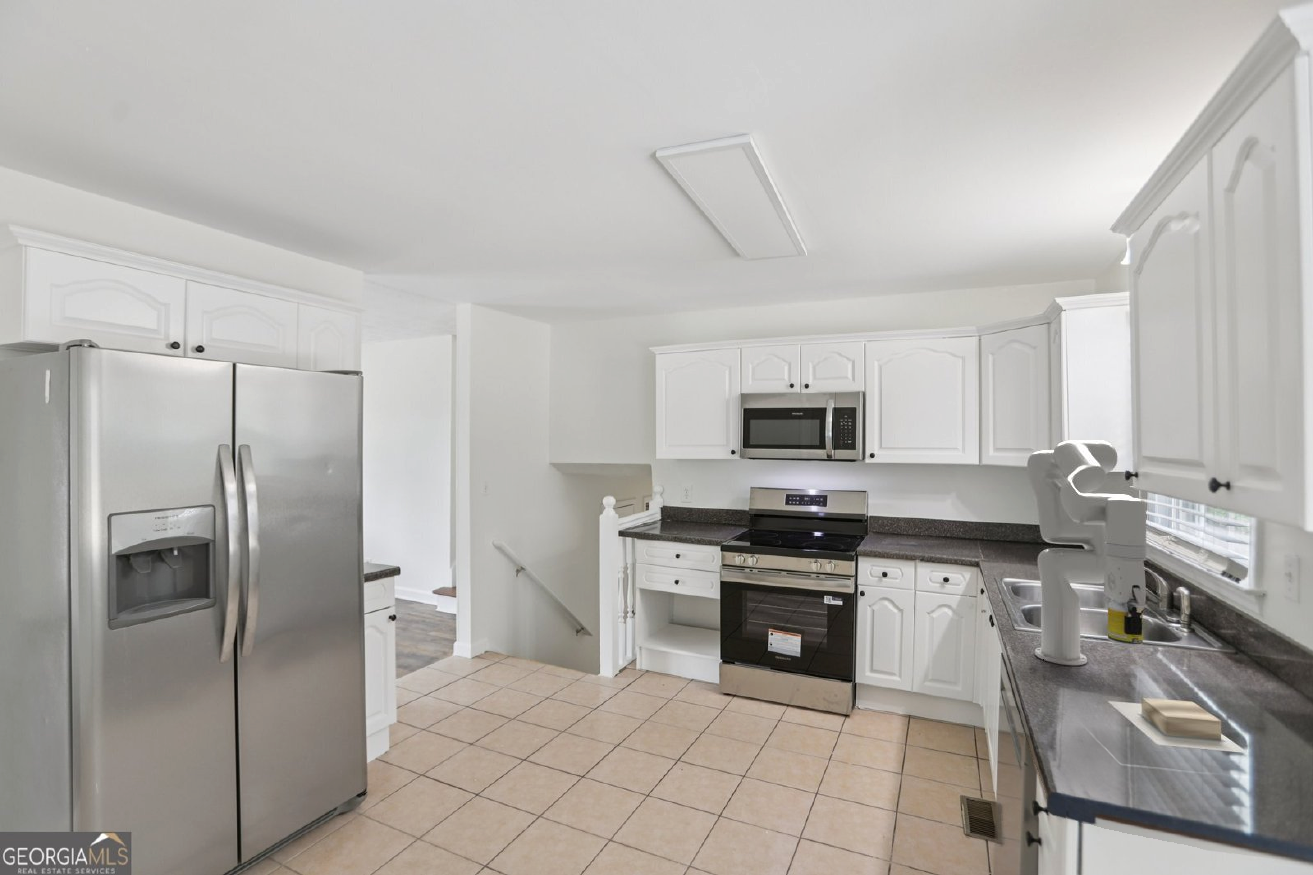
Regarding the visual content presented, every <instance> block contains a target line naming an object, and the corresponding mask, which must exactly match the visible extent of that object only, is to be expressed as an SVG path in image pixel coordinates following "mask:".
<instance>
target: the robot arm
mask: <svg viewBox="0 0 1313 875" xmlns="http://www.w3.org/2000/svg"><path fill="white" fill-rule="evenodd" d="M1117 464H1118V453H1117V450H1116V449H1115V447H1114V446H1113V445H1112V444H1111V443H1109V442H1108V441H1105V440H1067V441H1062V442H1060V443H1059V444H1057V445H1056V446H1055V448H1053V449H1051V450H1050V449H1049V450H1048V449H1047V450H1040V451H1036V452H1034V453H1032V454H1030V456H1028V459H1027V465H1026V471H1027V476H1028V480H1029V483H1030V485H1031V488H1032V489H1033V491H1034V494H1035V498H1036V507H1037V515H1038V522H1039V531H1040V532H1039V533H1040V536H1041V538H1042V539H1043V540H1044V541H1045V542H1047V543H1050V544H1057V545H1058V544H1059V545H1080V546H1083V547H1084V549H1083V548H1067V547H1066V548H1063V547H1053V548H1052V547H1051V548H1046V549H1044V550H1042V551H1040V553H1039V554H1038V556H1037V568H1038V573H1039V578H1040V579H1039V580H1040V581H1039V582H1040V592H1041V595H1040V597H1041V598H1040V602H1041V605H1040V606H1041V609H1040V610H1041V614H1040V615H1041V619H1040V620H1041V624H1040V625H1041V626H1040V629H1041V636H1040V637H1041V639H1040V642H1041V644H1040V645H1041V646H1040V647H1037V648H1035V650H1034V654H1035V656H1036V657H1037V658H1039V659H1041V660H1043V659H1044V660H1043V661H1046V662H1049V663H1053V664H1058V665H1063V666H1065V665H1066V666H1082V665H1085V664H1087V663H1088V658H1087V656H1086V655H1085V654H1083V653H1082V652H1081V597H1080V595H1079V594H1078V593H1077V591H1076V590H1075V589H1074V588H1073V587H1072V585H1071V584H1073V583H1074V584H1076V583H1079V584H1103V593H1104V595H1105V596H1106V597H1108V598H1109V603H1110V602H1111V601H1114V600H1115V601H1117V602H1118V603H1121V604H1123V603H1124V605H1125V610H1126V615H1127V616H1124V632H1125V633H1126V634H1130V635H1142V617H1143V618H1144V610H1145V607H1146V598H1147V597H1146V596H1147V591H1146V590H1147V588H1146V585H1147V584H1146V573H1145V572H1146V571H1145V565H1144V564H1145V563H1144V561H1146V560H1147V505H1146V502H1145V501H1144V500H1143V499H1140V498H1137V497H1136V498H1135V497H1132V496H1131V495H1129V494H1123V493H1122V494H1120V493H1119V494H1118V493H1117V494H1115V493H1113V494H1112V493H1111V494H1110V493H1092V492H1094V491H1097V490H1099V489H1100V488H1101V487H1102V486H1103V485H1104V484H1105V483H1106V480H1107V474H1108V473H1110V472H1111V471H1113V470H1114V469H1115V468H1116V466H1117ZM1056 480H1064V481H1063V482H1062V484H1060V482H1058V481H1056ZM1129 600H1133V601H1135V602H1128V601H1129ZM1130 606H1135V607H1132V609H1131V610H1130ZM1142 613H1143V614H1142Z"/></svg>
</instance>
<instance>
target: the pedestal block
mask: <svg viewBox="0 0 1313 875" xmlns="http://www.w3.org/2000/svg"><path fill="white" fill-rule="evenodd" d="M1141 704H1142V716H1143V717H1145V718H1146V719H1147V720H1148V721H1149V722H1151V723H1152V724H1153V725H1154V726H1156V727H1157V728H1158V729H1159V730H1160V731H1162V732H1163V733H1164V734H1165V735H1169V736H1180V737H1191V738H1202V739H1213V740H1221V734H1222V720H1220V719H1219V718H1217V717H1216V716H1214V715H1213V714H1211V713H1210V712H1208V711H1207V710H1206V709H1204V708H1202V707H1201V706H1200V705H1198V704H1197V703H1195V702H1193V701H1188V700H1179V699H1178V700H1177V699H1166V698H1164V699H1162V698H1154V697H1153V698H1151V697H1141Z"/></svg>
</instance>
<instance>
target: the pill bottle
mask: <svg viewBox="0 0 1313 875" xmlns="http://www.w3.org/2000/svg"><path fill="white" fill-rule="evenodd" d="M1128 602H1135V601H1133V600H1129V601H1128ZM1132 607H1135V606H1130V610H1131V609H1132ZM1142 614H1143V615H1144V612H1143V613H1142ZM1124 616H1127V615H1126V610H1125V605H1124V603H1123V604H1121V603H1118V602H1117V601H1115V600H1114V601H1111V602H1110V601H1109V602H1108V605H1107V638H1108V640H1109V641H1110V642H1111V643H1114V644H1116V645H1120V646H1125V647H1132V648H1133V647H1141V646H1142V645H1143V644H1144V616H1143V617H1142V635H1130V634H1126V633H1125V632H1124Z"/></svg>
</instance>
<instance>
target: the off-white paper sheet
mask: <svg viewBox="0 0 1313 875" xmlns="http://www.w3.org/2000/svg"><path fill="white" fill-rule="evenodd" d="M1107 703H1109V704H1110V705H1112V706H1113V708H1114V709H1116V710H1117V711H1118V712H1119V713H1121V715H1123V716H1124V717H1125V718H1126V719H1127V720H1129V721H1130V723H1132V724H1133V725H1134V726H1135V727H1137V728H1138V729H1139V730H1140V731H1141V732H1142V733H1144V735H1146V736H1147V737H1148V738H1149V739H1150V740H1152V741H1153V742H1154V743H1155V744H1156V745H1157V746H1158V745H1159V746H1171V747H1181V748H1191V749H1198V750H1199V749H1202V750H1210V751H1212V750H1213V751H1221V752H1222V751H1223V752H1234V753H1245V754H1249V752H1248V751H1247V750H1246V749H1244V748H1243V747H1241V746H1240V745H1239V744H1236V743H1235V742H1234V741H1233V740H1232V739H1229V738H1228V737H1227V736H1225V735H1224V734H1222V733H1221V740H1213V739H1202V738H1191V737H1180V736H1169V735H1165V734H1164V733H1163V732H1162V731H1160V730H1159V729H1158V728H1157V727H1156V726H1154V725H1153V724H1152V723H1151V722H1149V721H1148V720H1147V719H1146V718H1145V717H1143V716H1142V703H1138V702H1136V703H1135V702H1124V701H1123V702H1122V701H1113V700H1107Z"/></svg>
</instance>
